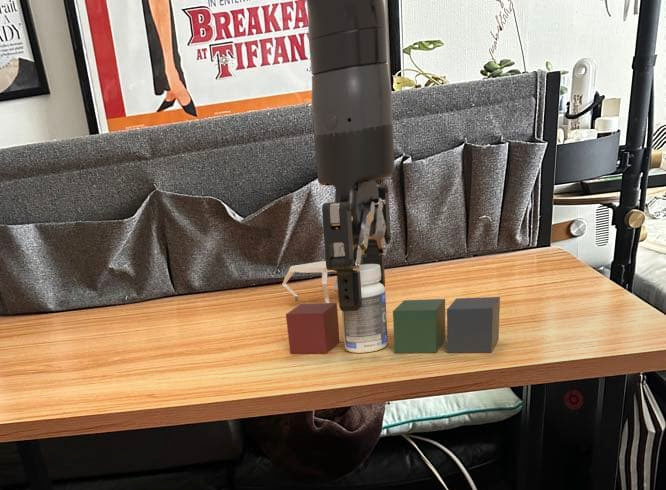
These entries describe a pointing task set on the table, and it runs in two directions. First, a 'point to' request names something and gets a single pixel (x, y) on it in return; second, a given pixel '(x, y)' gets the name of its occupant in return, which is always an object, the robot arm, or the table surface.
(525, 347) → the table surface
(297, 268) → the white legged frame
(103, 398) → the table surface
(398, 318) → the green block
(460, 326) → the slate block
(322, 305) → the maroon block
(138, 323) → the table surface
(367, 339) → the pill bottle
